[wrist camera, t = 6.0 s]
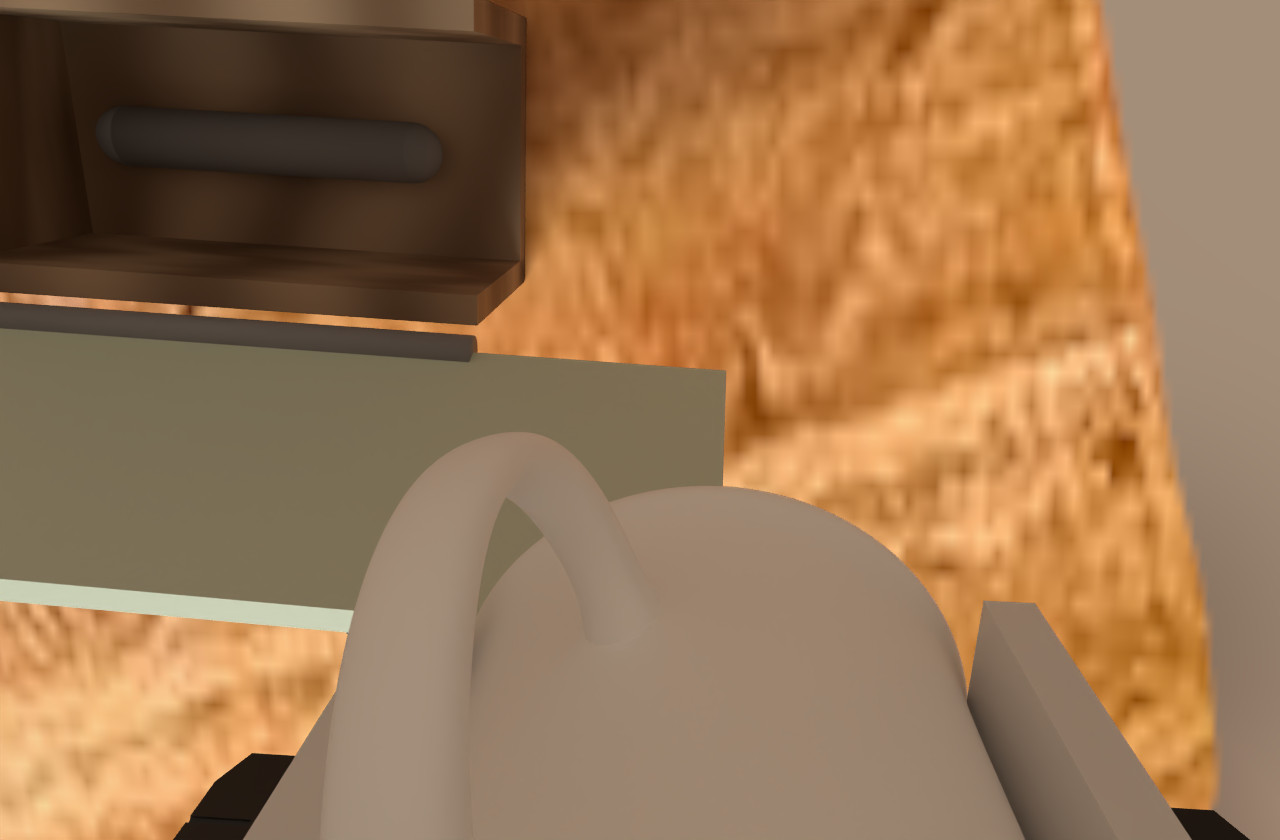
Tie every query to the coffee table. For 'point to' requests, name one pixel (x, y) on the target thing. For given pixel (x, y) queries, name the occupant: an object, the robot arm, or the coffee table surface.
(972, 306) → the coffee table surface
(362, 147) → the dark grey rod
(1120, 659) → the coffee table surface
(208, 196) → the cable box
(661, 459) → the lid
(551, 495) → the mug
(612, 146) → the coffee table surface
